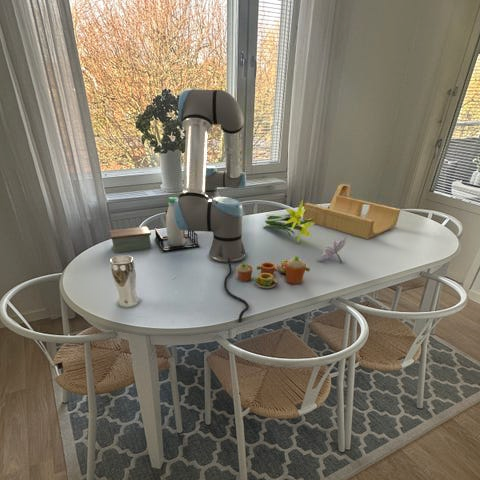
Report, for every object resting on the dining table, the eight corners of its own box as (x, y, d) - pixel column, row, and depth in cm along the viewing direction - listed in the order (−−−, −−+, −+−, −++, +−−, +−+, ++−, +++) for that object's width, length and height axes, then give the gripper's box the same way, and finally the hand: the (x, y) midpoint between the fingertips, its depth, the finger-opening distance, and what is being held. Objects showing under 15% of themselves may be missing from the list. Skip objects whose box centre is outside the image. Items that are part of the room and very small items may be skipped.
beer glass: (120, 297, 114) (112, 254, 106) (141, 296, 114) (135, 254, 106) (115, 308, 108) (106, 264, 100) (138, 307, 109) (131, 264, 100)
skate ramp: (302, 221, 190) (305, 191, 181) (338, 208, 210) (343, 180, 201) (367, 241, 166) (374, 207, 157) (401, 224, 186) (409, 194, 177)
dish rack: (199, 247, 152) (198, 235, 149) (163, 252, 147) (162, 239, 144) (188, 235, 165) (187, 223, 162) (155, 239, 160) (153, 227, 156)
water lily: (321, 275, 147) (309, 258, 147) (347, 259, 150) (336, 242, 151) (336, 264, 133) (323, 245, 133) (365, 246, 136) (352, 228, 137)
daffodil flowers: (285, 225, 184) (331, 226, 154) (266, 243, 181) (309, 248, 151) (268, 199, 175) (314, 195, 145) (249, 218, 172) (291, 217, 143)
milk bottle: (182, 247, 152) (178, 200, 141) (165, 245, 153) (160, 199, 142) (187, 241, 158) (184, 196, 147) (171, 239, 160) (167, 195, 149)
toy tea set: (291, 266, 138) (294, 243, 133) (312, 282, 126) (316, 258, 121) (231, 275, 129) (231, 251, 124) (247, 294, 117) (248, 268, 112)
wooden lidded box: (152, 248, 150) (150, 232, 146) (114, 253, 144) (111, 237, 140) (148, 241, 156) (146, 226, 152) (112, 246, 151) (108, 230, 147)
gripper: (224, 214, 168) (205, 227, 151) (179, 208, 175) (156, 220, 159) (224, 199, 164) (204, 210, 147) (178, 193, 171) (154, 203, 155)
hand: (179, 215), depth 153 cm, fingers open, 13 cm apart
